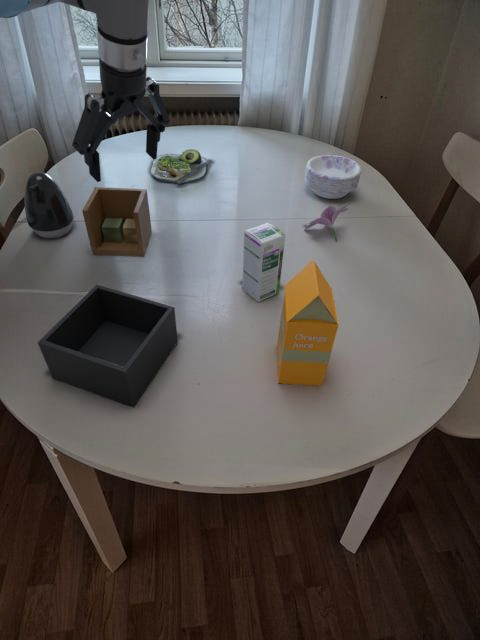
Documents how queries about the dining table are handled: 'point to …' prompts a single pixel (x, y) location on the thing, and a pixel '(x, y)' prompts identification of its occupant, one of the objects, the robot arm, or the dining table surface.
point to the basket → (111, 344)
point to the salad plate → (180, 167)
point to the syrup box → (262, 261)
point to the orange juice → (306, 328)
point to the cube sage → (113, 230)
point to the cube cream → (130, 231)
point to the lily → (328, 217)
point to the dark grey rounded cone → (46, 207)
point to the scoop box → (117, 206)
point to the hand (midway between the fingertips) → (124, 166)
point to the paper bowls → (332, 176)
